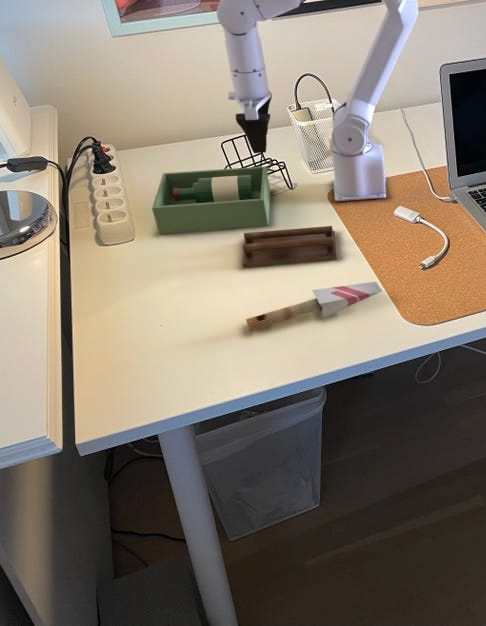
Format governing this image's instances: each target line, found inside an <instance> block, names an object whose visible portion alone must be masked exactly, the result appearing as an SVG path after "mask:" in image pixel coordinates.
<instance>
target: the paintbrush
mask: <svg viewBox="0 0 486 626" xmlns="http://www.w3.org/2000/svg"><path fill="white" fill-rule="evenodd" d="M311 291H312V293H313V295H314V297H315V298H313V299H310V300H306V301H302V302H299V303H296V304H292V305H289V306H285V307H282V308H279V309H275V310H271V311H268V312H265V313H262V314H259V315H255V316H252V317H248V318H246V319H245V321H246V324H247V328H248V331H249V332H251V331H255V330H258V329H261V328H264V327H267V326H272V325H274V324H277V323H278V324H279V323H281V322H285V321H287V320H288V321H289V320H290V319H293V318H297V317H300V316H303V315H306V314H310V313H313V312H316V311H318V313H319V316H320V317H321V318H322V319H324V318H326V317H328V316H331V315H333V314H335V313H337V312H341V311H342V310H344V309H346V308H348V307H350V306H353V305H356V304H357V303H360V302H362V301H365V300H367V299H368V298H370V297H373V296H375V295H377V294H379V293H381V292H383V289H382V288H381V286H380V285H379V284H378V282H377V281H371V282H363V283H355V284H349V285H348V284H347V285H341V286H340V285H339V286H333V287H326V288H325V287H324V288H319V289H311Z"/></svg>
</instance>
